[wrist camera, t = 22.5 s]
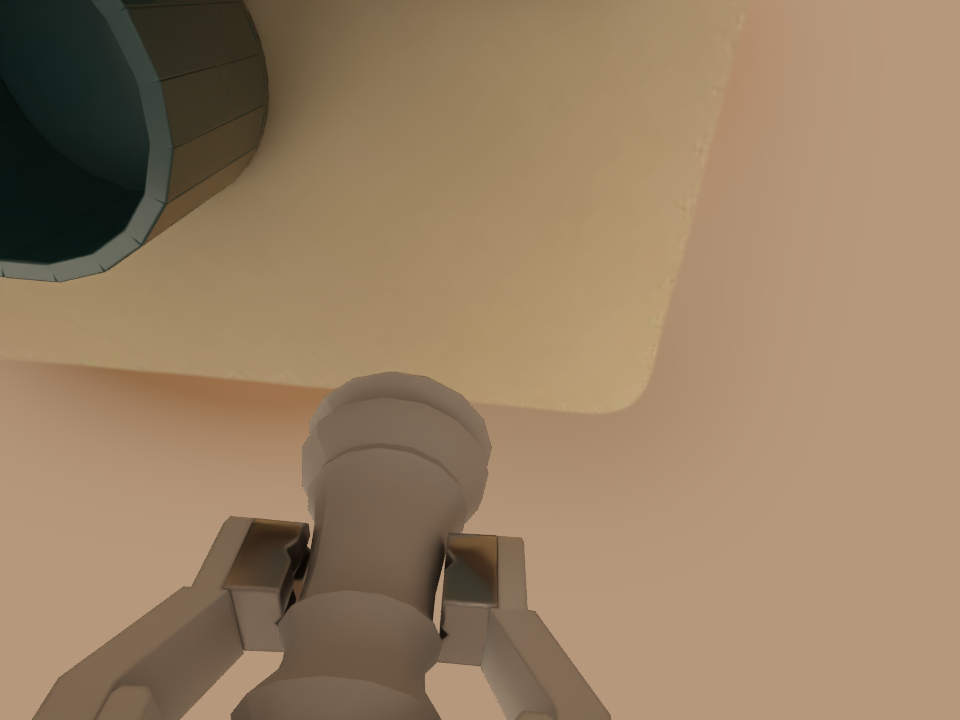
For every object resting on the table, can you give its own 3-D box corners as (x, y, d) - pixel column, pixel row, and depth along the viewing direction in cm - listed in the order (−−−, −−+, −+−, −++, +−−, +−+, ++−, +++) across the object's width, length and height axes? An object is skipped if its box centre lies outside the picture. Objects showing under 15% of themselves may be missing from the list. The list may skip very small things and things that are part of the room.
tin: (31, 191, 27) (-141, 265, 20) (-74, -130, 21) (-379, -193, 14) (282, 214, 27) (201, 296, 20) (250, -98, 21) (118, -144, 14)
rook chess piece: (277, 435, 15) (98, 810, 8) (388, 324, 13) (277, 685, 6) (413, 522, 16) (357, 896, 10) (529, 434, 15) (558, 816, 8)
